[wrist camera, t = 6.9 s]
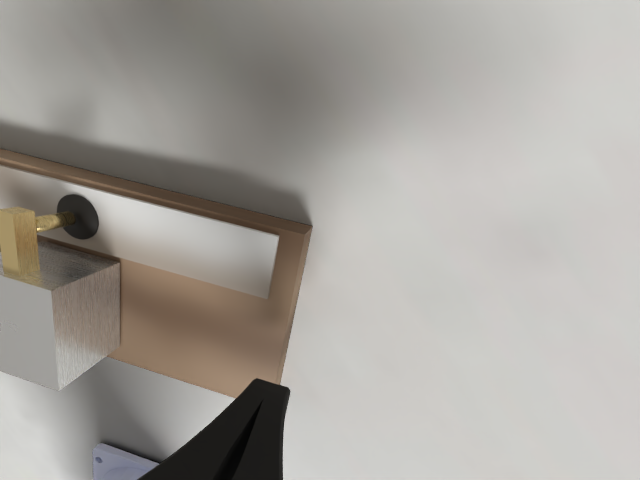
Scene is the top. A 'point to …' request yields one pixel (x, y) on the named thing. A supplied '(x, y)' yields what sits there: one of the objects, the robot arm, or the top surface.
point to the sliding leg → (53, 302)
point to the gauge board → (177, 270)
